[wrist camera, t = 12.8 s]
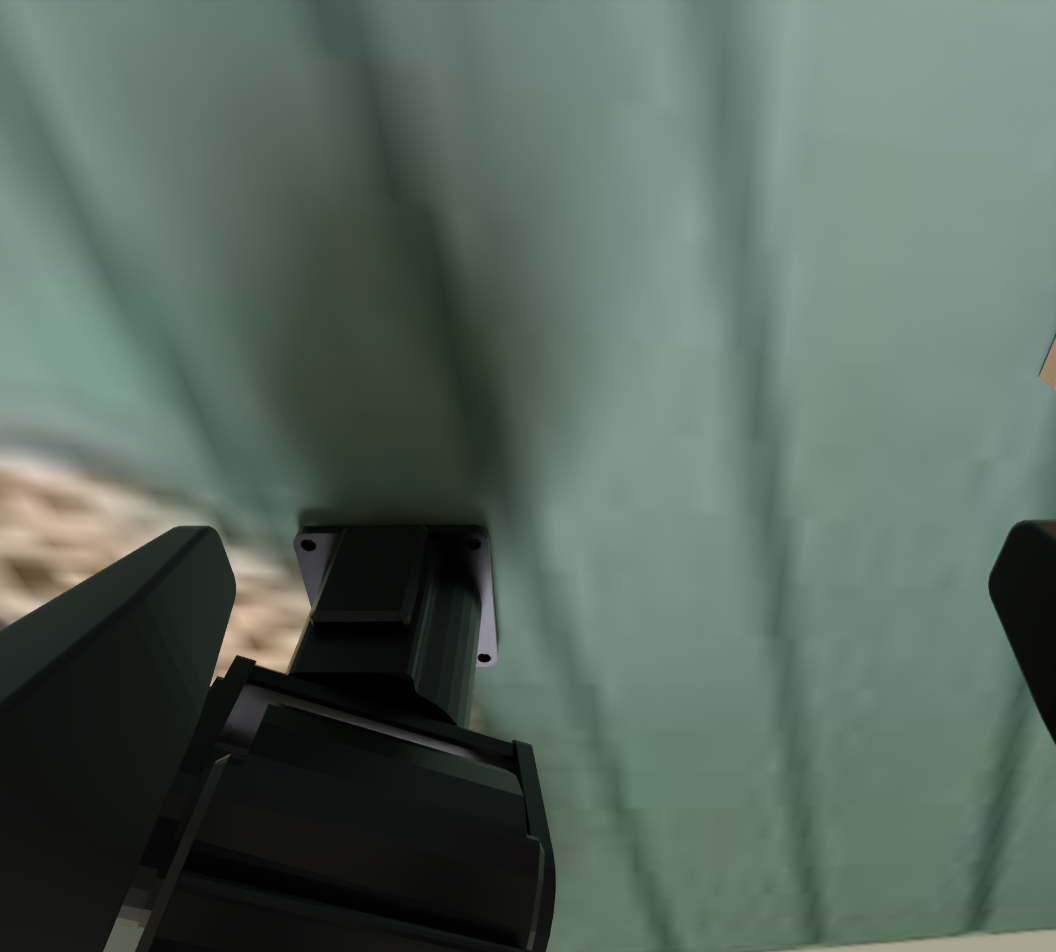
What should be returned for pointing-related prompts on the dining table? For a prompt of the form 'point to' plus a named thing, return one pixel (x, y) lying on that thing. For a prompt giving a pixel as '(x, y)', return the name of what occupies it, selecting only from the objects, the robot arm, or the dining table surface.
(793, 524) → the dining table surface
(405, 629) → the robot arm
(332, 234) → the dining table surface
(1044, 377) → the tray
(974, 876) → the dining table surface
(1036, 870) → the dining table surface
